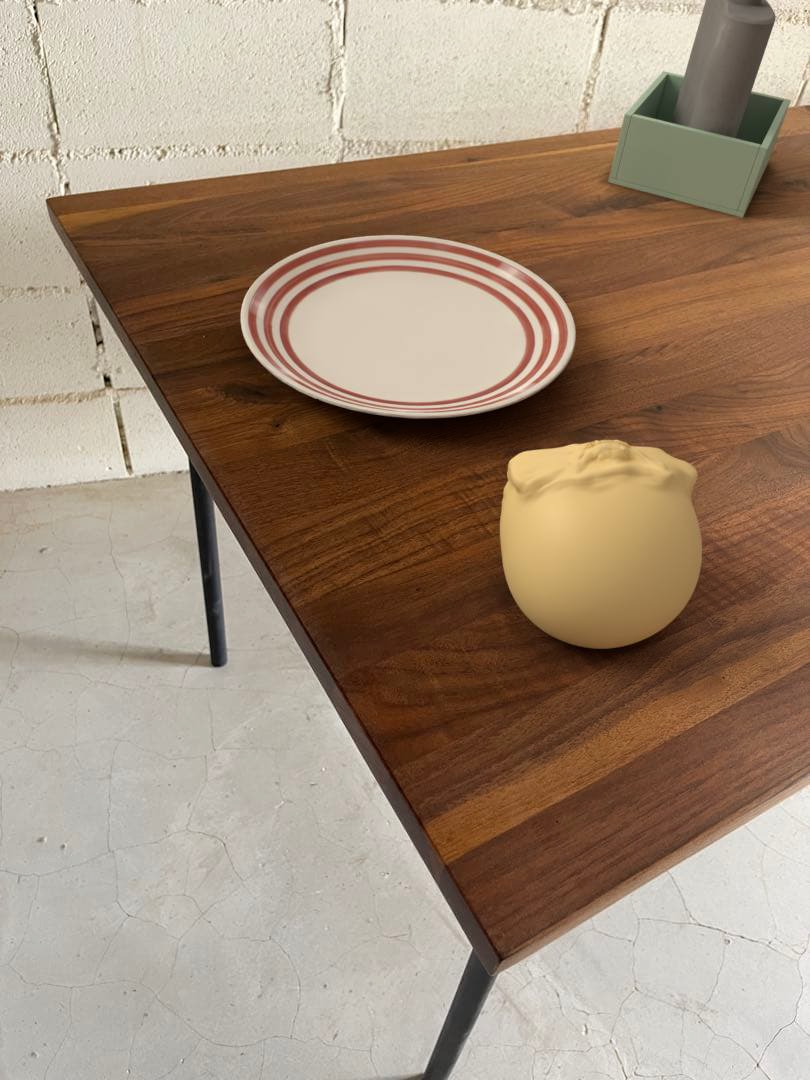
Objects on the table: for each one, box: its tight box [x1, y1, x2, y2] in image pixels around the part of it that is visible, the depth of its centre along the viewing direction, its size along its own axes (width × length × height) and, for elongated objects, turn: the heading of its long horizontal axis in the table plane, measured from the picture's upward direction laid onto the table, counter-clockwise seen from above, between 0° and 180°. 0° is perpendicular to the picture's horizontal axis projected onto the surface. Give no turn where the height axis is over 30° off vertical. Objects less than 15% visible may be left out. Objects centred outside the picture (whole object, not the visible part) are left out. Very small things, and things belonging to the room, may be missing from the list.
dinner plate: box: [240, 234, 577, 419], centre depth 74 cm, size 28×27×3 cm
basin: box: [607, 70, 792, 218], centre depth 103 cm, size 16×18×8 cm
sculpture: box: [499, 439, 703, 650], centre depth 52 cm, size 12×12×11 cm
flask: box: [671, 0, 776, 138], centre depth 99 cm, size 15×6×20 cm, turn 175°
